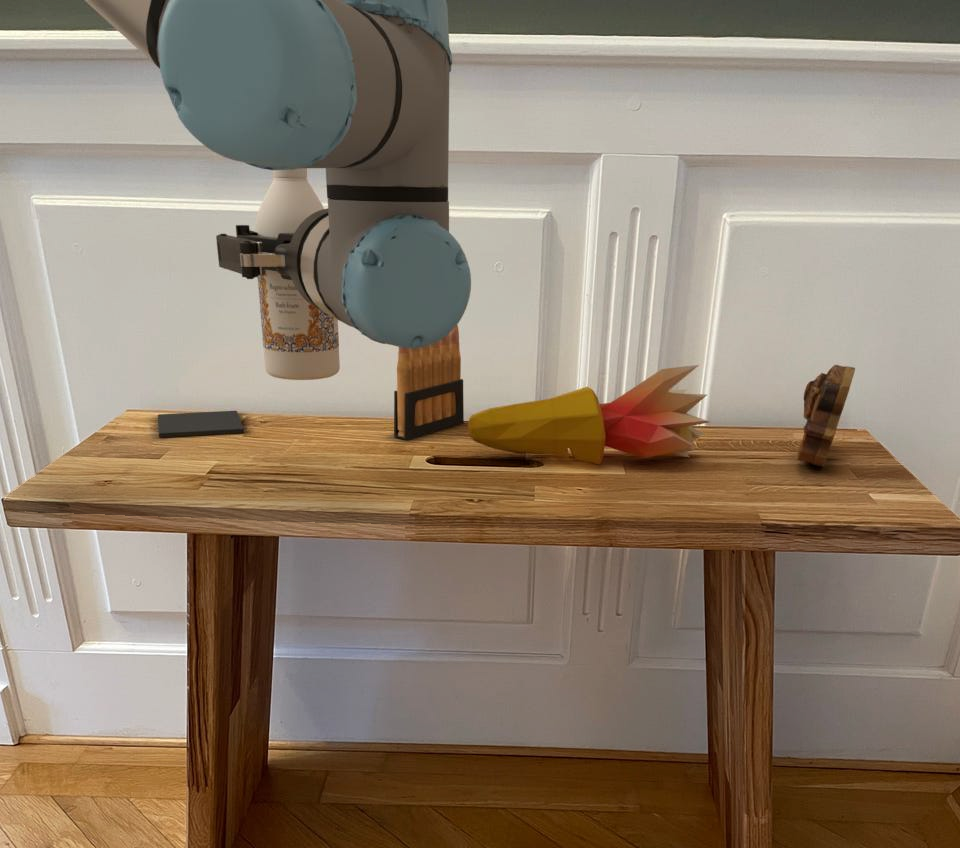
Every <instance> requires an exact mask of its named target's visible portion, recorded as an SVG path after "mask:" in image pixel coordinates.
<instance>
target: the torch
mask: <svg viewBox="0 0 960 848" xmlns="http://www.w3.org/2000/svg"><path fill="white" fill-rule="evenodd" d="M699 366H700V364H695V365H686V366H676V367H668V368H661V369H660V370H658V371H656V372H655V373H654V374H652V375H651V376H649V377H647V378H646V379H644V380H643V381H641V382H640V383H639V384H637V385H635V386H634V387H632V388H631V389H629V390H628V391H626V392H625V393H623V394H622V395H620V396H618V397H617V398H615V399H613V400H612V401H610V402H605V403H600V400H599V397H598V395H597V394H596V393H595V391H594V389H592V388H591V387H589V386H585V387H582V388H578V389H576V390H572V391H569V392H566V393H563V394H560V395H557V396H554V397H551V398H547V399H545V398H544V399H539V400H533V401H525V402H521V403H520V402H519V403H514V404H508V405H502V406H495V407H490V408H489V407H488V408H487V409H485V410H482V411H479V412H476V413H473V414H472V415H470V417H469V419H468V423H467V431H468V434H469V437H470V438H471V440H472V441H473V442H475V443H477V444H480V445H483V446H486V447H488V448H492V449H495V450H499V451H504V452H508V453H514V454H522V455H523V454H524V455H525V454H526V455H550V456H551V455H552V456H553V455H554V456H559V457H561V458H562V457H563V458H567V459H569V457H570V456H569V451H570V452H571V454H572V455H573V457H574V459H575V460H577V461H581V462H586V463H590V464H594V465H600V464H601V463H602V460H603V458H604V455H605V447H606V448H607V447H608V448H610V449H613V450H616V451H619V452H622V453H625V454H628V455H630V456H634V457H637V458H641V459H642V458H643V459H649V458H656V457H661V456H666V457H680V458H690V455H689V454H688V453H687V452H694V451H695V448H694V440H695V439H696V440H697V439H700V436H705V433H703V432H701V430H698V429H696V428H695V427H694V426H698V425H703V424H709V423H710V420H706V419H704V418H701V417H699V416H696V415H692V414H689V413H688V412H690V411H691V410H692V409H694V408H695V406H696V405H698V404H699V403H700V402H701V401H702V400H703V399H704V398H705V397H707V396H708V395H709V394H707V393H705V394H704V393H686V392H688V390H689V389H673V387H675V386H676V385H678V383H680V382H681V381H682V380H683V379H685V378H686V377H687V376H688V375H689V374H691V373H692V372H693V371H695V370H696V369H697V368H698V367H699ZM672 389H673V390H672ZM692 426H693V427H692Z"/></svg>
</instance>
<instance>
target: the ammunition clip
mask: <svg viewBox="0 0 960 848" xmlns="http://www.w3.org/2000/svg"><path fill="white" fill-rule="evenodd" d="M458 324H459V323H458ZM458 324H457V325H456V327H455V328H454V329H453V330H452V331H451V332H450V333H449V334H448V335H447V336H445V337H444V338H443V339H441V340H439V341H437V342H435V343H433V344H431V345H428V346H425V347H420V348H415V349H413V348H403V347H398V352H397V365H396V390H394V391H393V437H394V438H396V439H401V440H405V441H410V440H414V439H416V438H419V437H423V436H426V435H429V434H432V433H436V432H439V431H443V430H445V429H449V428H452V427H455V426H458V425H462V424H464V423H465V421H464V420H465V419H464V415H465V414H464V413H465V412H464V379H463V378H462V377H461V373H462V372H461V371H462V369H461V368H462V367H461V366H462V362H461V361H462V360H461V359H462V357H461V352H460V351H461V350H460V330H459V325H458Z"/></svg>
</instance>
